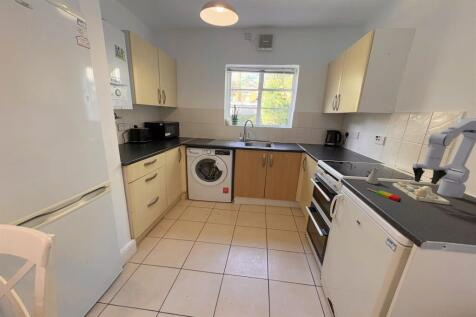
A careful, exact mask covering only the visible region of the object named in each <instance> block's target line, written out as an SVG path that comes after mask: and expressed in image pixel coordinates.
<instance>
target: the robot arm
mask: <svg viewBox="0 0 476 317" xmlns="http://www.w3.org/2000/svg"><path fill="white" fill-rule="evenodd" d="M460 135H462V136H463V138H462V140H461V142H460V144H459V146H458V148H457V150H456V153H455V154H454V157H453V159H452V162H451V163H448V164H445V165H443V166H441V163H442V160H443V158H444V154H445V152H446V149H447V147H448V146H450V145H451V144H452V142H454V140H455V139H456V138H458V137H460ZM475 144H476V118H475V117H464V116H463V117H460V118H458V119H457V121H456V123H455V124H454V126H448V127H447V128H446V129H443V130H442V131H440V132H439V133H438V132H435V133H433V134H431V135H430V136H429V138H428V145H427V148H428V150H427V152H426V156H425V159H424V161H423V163H413V164H412V172H413V174H414V182H416V183H420V181H421V179H422V176H423V174H424V173H425V172H426V171H425V170H432V178H431V181H430V182H431V184H433V185H437V183H438V182H439V181H440V180H441V181H440V183H439V186H438V189H437V191H436V193H437V194H439V195H441V196H444V197H449V198H458V199H462V198H463V197H464V195H465V192H466V188H467V186H466V184H465V183H467V181H468V180H469V177H470V173H471V170H470V169H469V168H467V166H466V164H467V162H468V160H469V157H470V155H471V153H472V151H473V149H474V147H475Z"/></svg>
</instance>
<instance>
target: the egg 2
mask: <svg viewBox="0 0 476 317" xmlns="http://www.w3.org/2000/svg"><path fill="white" fill-rule="evenodd" d="M421 187H422V188H421V189H424V190H426V191H427V194H430V195H431V192H432V193H433V189H432V187H430V186H428V185H424V186H421Z"/></svg>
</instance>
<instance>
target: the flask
mask: <svg viewBox="0 0 476 317" xmlns="http://www.w3.org/2000/svg"><path fill="white" fill-rule="evenodd" d="M379 169H380V168H379V167H376V166H375V167H374V166H372V171H371V173H370V174H369V175H368V177H366V178H365V182H366V183H369V184H372V185H378V184H379V176H378V172H379V171H378V170H379Z"/></svg>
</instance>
